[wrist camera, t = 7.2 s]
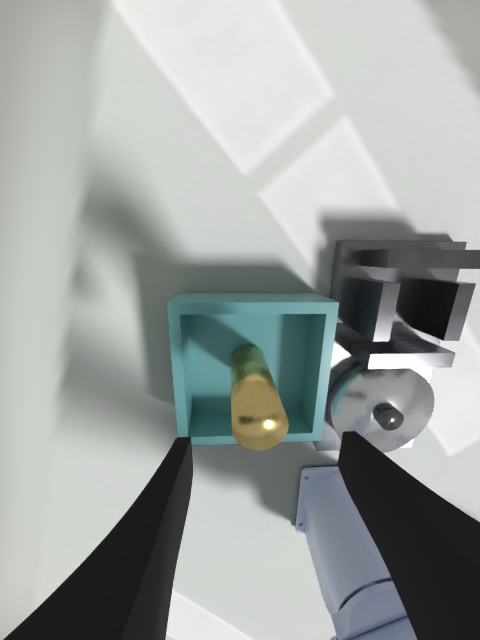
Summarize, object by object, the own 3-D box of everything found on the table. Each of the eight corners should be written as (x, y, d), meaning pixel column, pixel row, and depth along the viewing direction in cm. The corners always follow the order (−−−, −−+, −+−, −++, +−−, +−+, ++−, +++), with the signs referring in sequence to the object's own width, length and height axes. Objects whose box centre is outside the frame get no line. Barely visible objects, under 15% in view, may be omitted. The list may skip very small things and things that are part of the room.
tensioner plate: (404, 439, 24) (437, 474, 20) (312, 442, 24) (329, 479, 20) (454, 242, 19) (513, 239, 15) (336, 241, 18) (366, 237, 14)
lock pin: (263, 376, 20) (285, 450, 12) (229, 375, 20) (230, 450, 12) (266, 344, 19) (291, 403, 12) (231, 343, 19) (233, 402, 11)
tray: (304, 409, 23) (320, 440, 19) (186, 412, 22) (178, 445, 18) (317, 293, 19) (339, 302, 15) (179, 292, 19) (166, 302, 15)
